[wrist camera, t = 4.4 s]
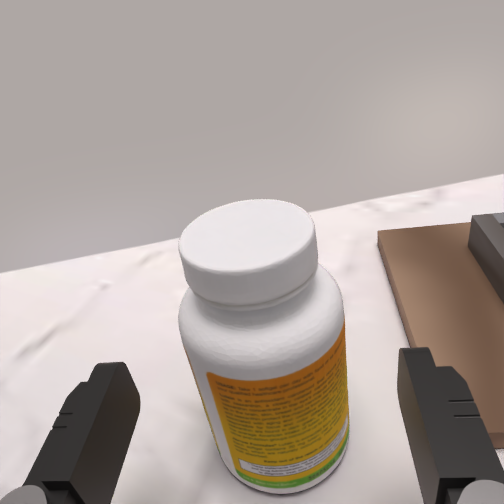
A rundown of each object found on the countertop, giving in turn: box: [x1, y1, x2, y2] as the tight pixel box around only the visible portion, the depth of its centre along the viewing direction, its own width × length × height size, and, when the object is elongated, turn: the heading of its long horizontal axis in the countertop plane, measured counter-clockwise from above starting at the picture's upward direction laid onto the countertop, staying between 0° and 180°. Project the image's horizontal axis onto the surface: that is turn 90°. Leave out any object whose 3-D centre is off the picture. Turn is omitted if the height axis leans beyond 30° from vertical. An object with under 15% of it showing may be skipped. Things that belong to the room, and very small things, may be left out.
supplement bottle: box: [178, 199, 349, 494], centre depth 15 cm, size 5×5×10 cm
